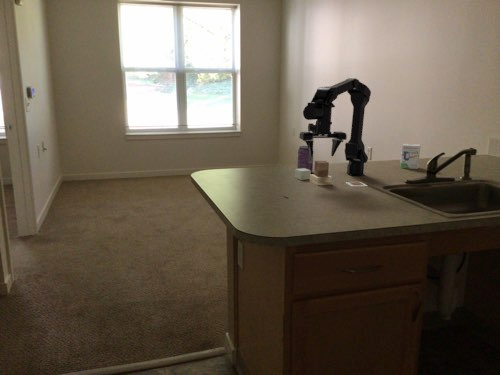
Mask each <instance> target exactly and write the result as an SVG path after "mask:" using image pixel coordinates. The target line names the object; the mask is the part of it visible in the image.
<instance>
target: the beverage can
mask: <svg viewBox="0 0 500 375" xmlns="http://www.w3.org/2000/svg"><path fill="white" fill-rule="evenodd" d="M313 164H314V154H313V155H312V157H311V156H310V153H309V149H308V146H307V145H300V146H299V148H298V150H297V168H296V169H302V168H306V169H308V170H311V172H313V166H314V165H313Z"/></svg>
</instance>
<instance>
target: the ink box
mask: <svg viewBox="0 0 500 375" xmlns="http://www.w3.org/2000/svg"><path fill="white" fill-rule="evenodd" d="M400 152H401V153H400V166H399V167H400V169H410V170H412V169H413V170H418V169H419V163H420V153H421V144H419V143H418V144H417V143H416V144H415V143H402V145H401V151H400Z"/></svg>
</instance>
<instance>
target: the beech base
mask: <svg viewBox="0 0 500 375" xmlns="http://www.w3.org/2000/svg"><path fill="white" fill-rule="evenodd" d="M309 182H310V183H312V184H313V185H315V186H325V185H328V186H329V185H333V176H331V175H329V174H328V177H317V176H316V175H314V173H313V174H310V179H309Z"/></svg>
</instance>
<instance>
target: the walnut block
mask: <svg viewBox="0 0 500 375" xmlns="http://www.w3.org/2000/svg"><path fill="white" fill-rule="evenodd" d="M329 163H330V162H328V161H327V160H315V161H314V170H313V171H314V173H313V174H314V175H316V176H317V177H328V175H329V167H330V164H329Z"/></svg>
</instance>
